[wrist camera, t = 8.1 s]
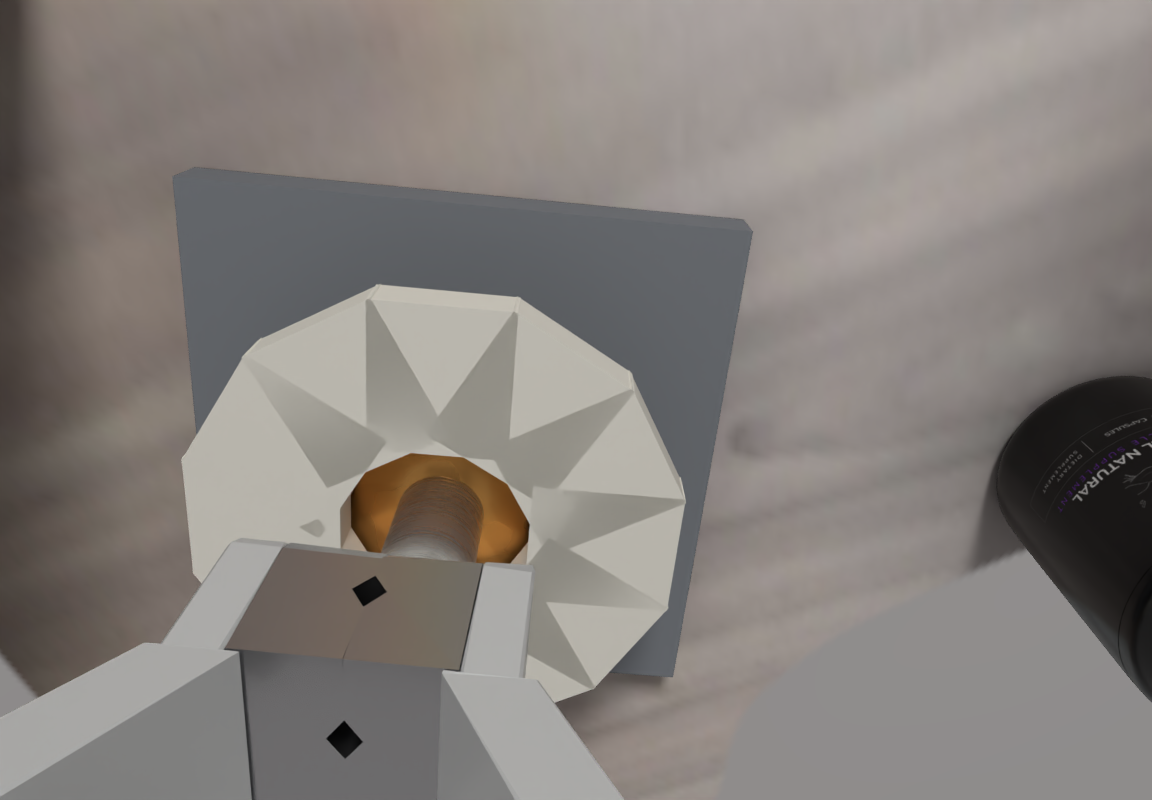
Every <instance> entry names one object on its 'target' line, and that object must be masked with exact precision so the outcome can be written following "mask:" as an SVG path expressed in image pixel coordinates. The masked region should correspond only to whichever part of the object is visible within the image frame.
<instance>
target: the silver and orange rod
mask: <svg viewBox="0 0 1152 800" xmlns="http://www.w3.org/2000/svg"><path fill="white" fill-rule="evenodd" d="M351 528H352V529H353V531H354V532H355V534H356V535H357V537H358V538H359V540H360V541H361V543H362V544H363V546H364V548H365V549H366V551H367V552H375V553H383V554H388V555H393V556H405V557H416V558H427V559H439V560H450V561H461V562H473V563H483V564H485V563H486V562H492V563H507V564H510V563H511V562H512V561H513V560H514V559H515V557H516V556H517V555H518V554H519V552H520V551H521V550H522V549H523V547H524V546H525V545H526V544H527V543H528V539H529V528H530V524H529V522H528V520H527V518H526V516H525V515H524V513H523V511H522V509H521V508H520V506H519V504H518V502H517V500H516V499H515V497H514V495H513V493H512V492H511V490H510V488H509V486H508V484H506V483H505V482H503V481H502V480H500V479H498V478H497V477H495V476H493V475H492V474H490V473H488V472H487V471H485V470H483V469H482V468H480V467H478V466H477V465H475V464H474V463H472V462H470V461H469V460H467V459H465V458H464V457H452V456H440V455H428V454H416V453H410V454H408V455H405V456H403V457H400V458H398V459H396V460H393V461H391V462H389V463H386V464H384V465H381V466H379V467H377V468H374V469H372V470H370V471H367V472H365V473H364V475H363V476H362V478H361V479H360V481H359V482H358V483H357V485H356V486H355V488H354V489H353V491H352V492H351Z"/></svg>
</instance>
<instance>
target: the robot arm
mask: <svg viewBox="0 0 1152 800" xmlns="http://www.w3.org/2000/svg"><path fill="white" fill-rule="evenodd" d="M534 579H535V569H534V567H533V565H523V564H507V563H492V562H486V563H485V564H483V563H473V562H461V561H450V560H439V559H427V558H416V557H405V556H393V555H388V554H383V553H375V552H366V551H358V550H349V549H341V548H332V547H324V546H315V545H307V544H298V543H289V544H288V543H285V542H279V541H269V540H259V539H249V538H239V539H237V540H235V541H232V542H231V543H230V544H229V545H228V546H227V547H226V549H225V550H224V552H223V553H222V555H221V556H220V558H219V559H218V561H217V562H216V563H215V565H214V566H213V568H212V569H211V571H210V572H209V574H208V575H207V577H206V578H205V580H204V581H203V582H202V584H201V585H200V587H199V588H198V590H197V591H196V593H195V594H194V596H193V597H192V599H191V600H190V601H189V603H188V604H187V606H186V607H185V609H184V610H183V612H182V613H181V615H180V616H179V617H178V619H177V620H176V622H175V623H174V625H173V626H172V628H171V629H170V631H169V632H168V634H167V635H166V636H165V638H164V639H163V641H162V642H161V644H155V643H143V644H141V645H139V646H137V647H135V648H133V649H131V650H129V651H127V652H125V653H123V654H122V655H120V656H118V657H116V658H114V659H112V660H110V661H108V662H106V663H104V664H102V665H100V666H98V667H96V668H94V669H93V670H91V671H89V672H87V673H85V674H83V675H81V676H79V677H77V678H75V679H73V680H71V681H69V682H67V683H66V684H64V685H62V686H60V687H58V688H56V689H54V690H52V691H50V692H48V693H46V694H44V695H42V696H40V697H38V698H37V699H35V700H33V701H31V702H29V703H27V704H25V705H23V706H21V707H19V708H17V709H15V710H14V711H12V712H10V713H8V714H6V715H4V716H2V717H0V800H625V799H624V798H623V797H622V795H621V794H620V793H619V791H618V790H617V788H616V787H615V786H614V784H613V783H612V782H611V780H610V779H609V777H608V776H607V775H606V773H605V772H604V770H603V769H602V768H601V766H600V765H599V764H598V762H597V761H596V759H595V758H594V757H593V755H592V754H591V753H590V751H589V750H588V748H587V747H586V746H585V744H584V743H583V741H582V740H581V739H580V737H579V736H578V735H577V733H576V732H575V730H574V729H573V728H572V726H571V725H570V724H569V722H568V721H567V719H566V718H565V717H564V715H563V714H562V712H561V711H560V710H559V708H558V707H557V706H556V704H555V703H554V701H553V700H552V699H551V697H550V696H549V695H548V693H547V692H546V690H545V689H544V688H543V686H542V685H541V683H540V682H539V681H538V680H536V679H526V678H525V675H526V665H527V654H528V643H529V633H530V622H531V611H532V601H533V590H534Z"/></svg>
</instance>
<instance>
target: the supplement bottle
mask: <svg viewBox="0 0 1152 800" xmlns="http://www.w3.org/2000/svg"><path fill="white" fill-rule="evenodd" d="M997 495H998V500H999V504H1000V508H1001V510H1002V513H1003V515H1004V517H1005V519H1006V521H1007V523H1008V524H1009V526H1010V527H1011V529H1012V530H1013V531H1014V533H1015V534H1016V535H1017V537H1018V538H1019V539H1020V541H1021V542H1022V543H1023V545H1024V546H1025V547H1026V549H1027V550H1028V551H1029V552H1030V554H1031V555H1032V556H1033V557H1034V559H1035V560H1036V561H1037V563H1038V564H1039V565H1040V566H1041V568H1042V569H1043V570H1044V571H1045V573H1046V574H1047V575H1048V576H1049V578H1050V579H1051V580H1052V581H1053V583H1054V584H1055V585H1056V586H1057V588H1058V589H1059V590H1060V591H1061V593H1062V594H1063V595H1064V596H1065V597H1066V599H1067V600H1068V602H1069V603H1070V604H1071V605H1072V606H1073V608H1074V609H1075V610H1076V611H1077V612H1078V614H1079V615H1080V617H1081V618H1082V619H1083V620H1084V621H1085V623H1086V624H1087V625H1088V626H1089V628H1090V629H1091V630H1092V632H1093V633H1094V634H1095V635H1096V637H1097V638H1098V639H1099V640H1100V642H1101V643H1102V644H1103V646H1104V647H1105V648H1106V649H1107V650H1108V652H1109V653H1110V654H1111V656H1112V657H1113V658H1114V659H1115V661H1116V662H1117V663H1118V664H1119V666H1120V667H1121V668H1122V669H1123V671H1124V672H1125V673H1126V674H1127V676H1128V677H1129V678H1130V679H1131V680H1132V682H1133V683H1134V684H1135V685H1136V686H1137V687H1138V688H1139V690H1140V691H1141V692H1142V693H1143V694H1144V695H1145V696H1146V697H1147V698H1148V699H1149V700H1150V701H1151V702H1152V379H1149V378H1144V377H1136V376H1116V377H1107V378H1101V379H1096V380H1092V381H1088V382H1085V383H1082V384H1079V385H1077V386H1074V387H1072V388H1069V389H1067V390H1065V391H1063V392H1061V393H1059V394H1058V395H1056V396H1054V397H1053V398H1051V399H1049V400H1048V401H1046V402H1045V403H1044V404H1042V405H1041V406H1040V407H1038V408H1037V409H1036V410H1035V411H1034V412H1032V413H1031V414H1030V415H1029V416H1028V417H1027V418H1026V419H1025V420H1024V422H1023V423H1022V424H1021V425H1020V426H1019V427H1018V429H1017V430H1016V432H1015V433H1014V434H1013V436H1012V437H1011V439H1010V441H1009V442H1008V444H1007V446H1006V448H1005V450H1004V453H1003V455H1002V458H1001V461H1000V465H999V469H998V476H997Z"/></svg>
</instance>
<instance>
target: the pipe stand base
mask: <svg viewBox="0 0 1152 800" xmlns="http://www.w3.org/2000/svg"><path fill="white" fill-rule="evenodd" d="M172 177H173V188H174V198H175V209H176V220H177V231H178V241H179V252H180V263H181V273H182V284H183V295H184V306H185V316H186V327H187V338H188V348H189V359H190V370H191V380H192V391H193V402H194V413H195V423H196V434H198V432H199V430H200V429H201V427H202V425H203V424H204V422H205V420H206V419H207V417H208V415H209V414H210V412H211V410H212V408H213V407H214V405H215V403H216V402H217V400H218V398H219V397H220V395H221V393H222V392H223V390H224V388H225V387H226V385H227V383H228V382H229V380H230V378H231V377H232V375H233V373H234V371H235V370H236V368H237V366H238V365H239V363H240V361H241V360H242V358H241V357H242V356H243V355H244V354H245V353H246V352H247V351H248V350H249V349H250V348H251V347H252V346H253V345H254V344H255V343H256V342H257V341H258V340H259V339H260V338H264V337H266V336H268V335H271V334H273V333H275V332H277V331H279V330H281V329H284V328H286V327H288V326H290V325H292V324H294V323H297V322H299V321H301V320H303V319H305V318H307V317H310V316H312V315H314V314H316V313H318V312H320V311H323V310H325V309H327V308H329V307H331V306H333V305H336V304H338V303H340V302H342V301H344V300H346V299H349V298H351V297H353V296H355V295H357V294H359V293H362V292H364V291H366V290H368V289H370V288H372V287H375V286H376V284H378V285H379V284H381V285H389V286H400V287H411V288H422V289H433V290H444V291H455V292H466V293H477V294H488V295H499V296H510V297H517V296H518V297H521V299H522V300H524V301H525V302H527V303H528V304H530V305H531V306H533V307H534V308H536V309H537V310H539V311H540V312H542V313H543V314H545V315H546V316H548V317H549V318H550V319H552V320H553V321H555V322H556V323H558V324H559V325H561V326H562V327H564V328H565V329H567V330H568V331H570V332H571V333H573V334H574V335H576V336H577V337H579V338H580V339H582V340H583V341H585V342H586V343H588V344H589V345H591V346H592V347H594V348H595V349H597V350H598V351H600V352H601V353H603V354H604V355H606V356H607V357H609V358H610V359H612V360H613V361H615V362H616V363H618V364H619V365H621V366H622V367H624V368H625V369H627V370H628V371H629V370H630V372H631V373H632V375H633V379H634V381H635V383H636V385H637V387H638V389H639V392H640V394H641V396H642V398H643V400H644V402H645V404H646V407H647V409H648V411H649V413H650V415H651V417H652V419H653V422H654V424H655V426H656V428H657V430H658V432H659V434H660V437H661V439H662V441H663V443H664V445H665V447H666V449H667V452H668V454H669V456H670V458H671V460H672V462H673V464H674V467H675V469H676V471H677V473H678V475H679V477H681V481H682V486H683V490H684V494H685V499H686V504H685V507H684V513H683V518H682V524H681V530H680V536H679V542H678V548H677V554H676V560H675V566H674V572H673V578H672V583H671V589H670V595H669V601H668V609H667V611H665V612H664V613H663V614H662V616H661V617H660V618H659V619H658V620H657V621H656V622H655V623H654V624H653V625H652V626H651V627H650V628H649V630H648V631H647V632H646V633H645V634H644V635H643V636H642V637H641V638H640V639H639V640H638V641H637V643H636V644H635V645H634V646H633V647H632V648H631V649H630V650H629V651H628V652H627V653H626V654H625V655H624V657H623V658H622V659H621V660H620V661H619V662H618V663H617V664H616V665H615V666H614V667H613V668H612V670H611V671H610V672H609V673H622V674H636V675H649V676H663V677H673V673H674V668H675V662H676V657H677V651H678V646H679V640H680V634H681V629H682V623H683V618H684V612H685V607H686V601H687V595H688V590H689V584H690V579H691V573H692V568H693V562H694V557H695V551H696V545H697V540H698V534H699V529H700V523H701V518H702V512H703V506H704V501H705V495H706V490H707V484H708V479H709V473H710V467H711V462H712V456H713V451H714V445H715V440H716V434H717V429H718V423H719V417H720V412H721V406H722V401H723V395H724V390H725V384H726V378H727V373H728V367H729V362H730V356H731V351H732V345H733V339H734V334H735V328H736V323H737V317H738V312H739V306H740V301H741V295H742V289H743V284H744V278H745V273H746V267H747V262H748V256H749V250H750V245H751V239H752V234H753V231H752V230H751V228H750V227H749V226H748V225H747V223H746V222H745V221H744V220H742V219H731V218H721V217H710V216H700V215H690V214H679V213H669V212H658V211H648V210H637V209H627V208H616V207H606V206H595V205H585V204H574V203H564V202H553V201H543V200H532V199H522V198H511V197H501V196H490V195H480V194H469V193H459V192H448V191H438V190H427V189H417V188H406V187H396V186H385V185H375V184H364V183H354V182H343V181H333V180H322V179H312V178H301V177H291V176H280V175H270V174H259V173H249V172H238V171H228V170H217V169H207V168H196V167H194V168H192V169H189V170H187V171H184V172H182V173H179V174H177V175H175V176H172Z"/></svg>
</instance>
